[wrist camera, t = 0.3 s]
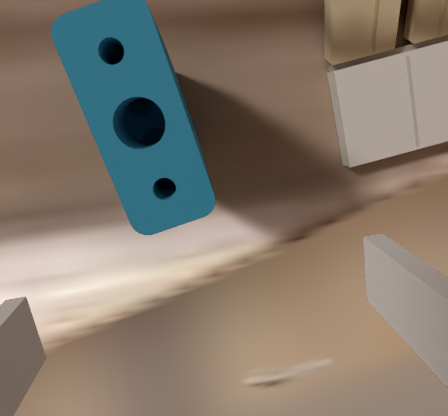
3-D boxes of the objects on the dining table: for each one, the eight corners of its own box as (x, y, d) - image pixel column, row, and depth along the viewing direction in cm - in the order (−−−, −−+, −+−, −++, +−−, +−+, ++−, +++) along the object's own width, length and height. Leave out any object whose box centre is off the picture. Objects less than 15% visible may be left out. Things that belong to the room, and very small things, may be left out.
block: (206, 162, 41) (219, 211, 22) (162, 177, 41) (137, 239, 22) (167, 49, 38) (141, -14, 18) (119, 65, 38) (44, 20, 18)
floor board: (325, 66, 39) (333, 64, 37) (464, 30, 39) (478, 26, 37) (342, 164, 42) (350, 167, 40) (471, 130, 42) (485, 131, 40)
